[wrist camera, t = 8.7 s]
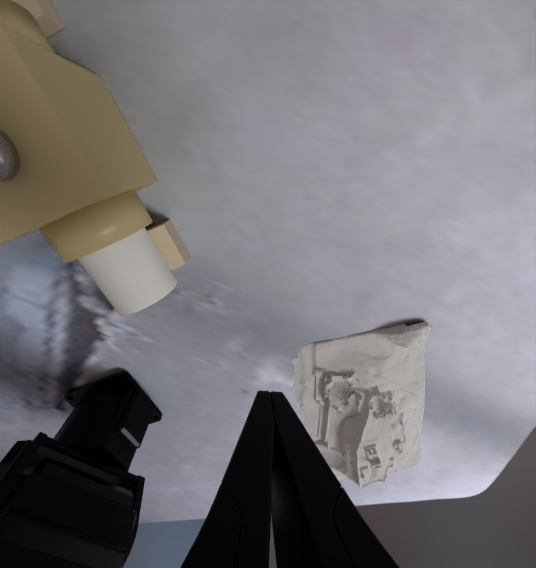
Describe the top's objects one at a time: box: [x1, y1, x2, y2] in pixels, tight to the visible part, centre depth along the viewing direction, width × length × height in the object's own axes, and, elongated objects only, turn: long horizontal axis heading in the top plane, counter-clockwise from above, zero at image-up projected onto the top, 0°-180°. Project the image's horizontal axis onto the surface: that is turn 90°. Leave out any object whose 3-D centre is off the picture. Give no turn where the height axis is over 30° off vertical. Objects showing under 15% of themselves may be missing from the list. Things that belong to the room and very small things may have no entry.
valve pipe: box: [0, 0, 191, 315], centre depth 14 cm, size 6×18×7 cm, turn 21°
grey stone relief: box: [288, 322, 432, 488], centre depth 28 cm, size 17×23×5 cm
